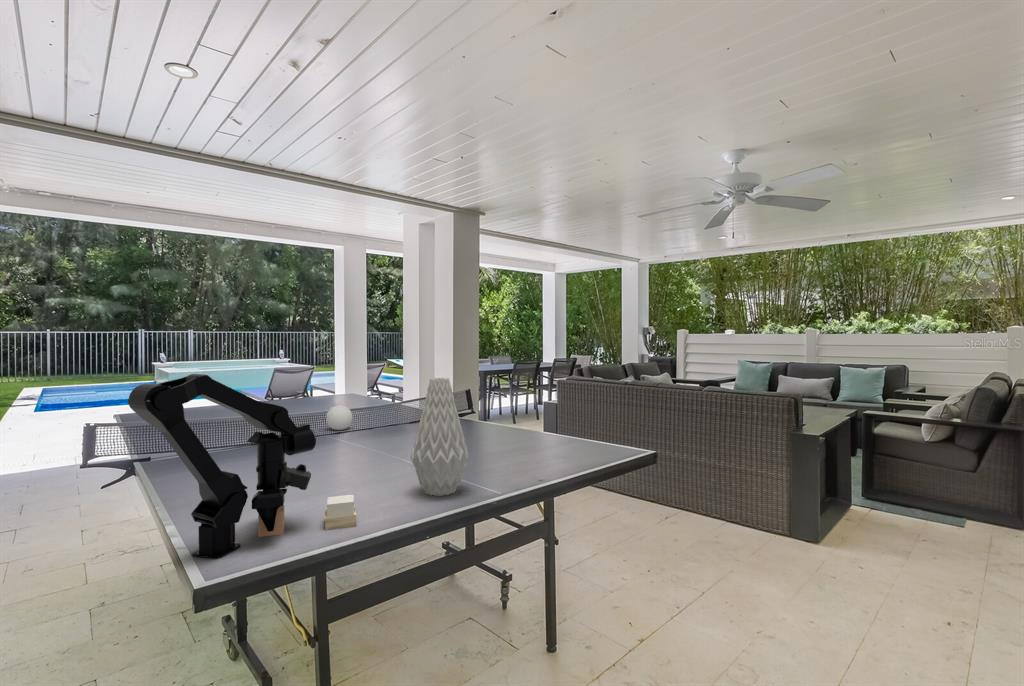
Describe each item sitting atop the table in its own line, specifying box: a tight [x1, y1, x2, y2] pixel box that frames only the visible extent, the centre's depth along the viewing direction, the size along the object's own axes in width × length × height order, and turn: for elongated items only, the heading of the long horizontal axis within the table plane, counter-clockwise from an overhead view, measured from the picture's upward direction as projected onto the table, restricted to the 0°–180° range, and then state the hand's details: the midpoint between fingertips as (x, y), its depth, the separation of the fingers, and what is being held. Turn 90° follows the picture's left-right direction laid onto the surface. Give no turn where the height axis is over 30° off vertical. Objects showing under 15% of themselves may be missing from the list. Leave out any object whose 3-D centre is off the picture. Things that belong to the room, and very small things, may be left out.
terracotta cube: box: [257, 504, 286, 538], centre depth 117 cm, size 5×5×5 cm
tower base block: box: [324, 505, 357, 531], centre depth 123 cm, size 7×7×3 cm
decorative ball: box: [326, 404, 353, 431], centre depth 248 cm, size 12×12×12 cm
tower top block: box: [326, 494, 355, 517], centre depth 123 cm, size 6×6×3 cm
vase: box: [410, 377, 470, 497], centre depth 147 cm, size 17×17×33 cm
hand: (271, 527), depth 117 cm, fingers closed on terracotta cube, 5 cm apart
